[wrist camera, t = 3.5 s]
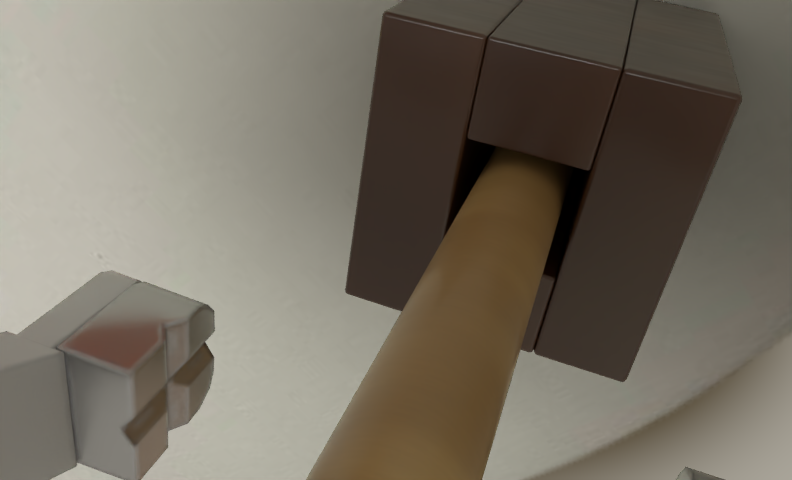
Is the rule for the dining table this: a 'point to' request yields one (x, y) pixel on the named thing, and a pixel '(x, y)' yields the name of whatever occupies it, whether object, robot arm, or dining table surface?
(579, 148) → the stick holder
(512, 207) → the stirring stick
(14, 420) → the robot arm
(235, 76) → the dining table surface
